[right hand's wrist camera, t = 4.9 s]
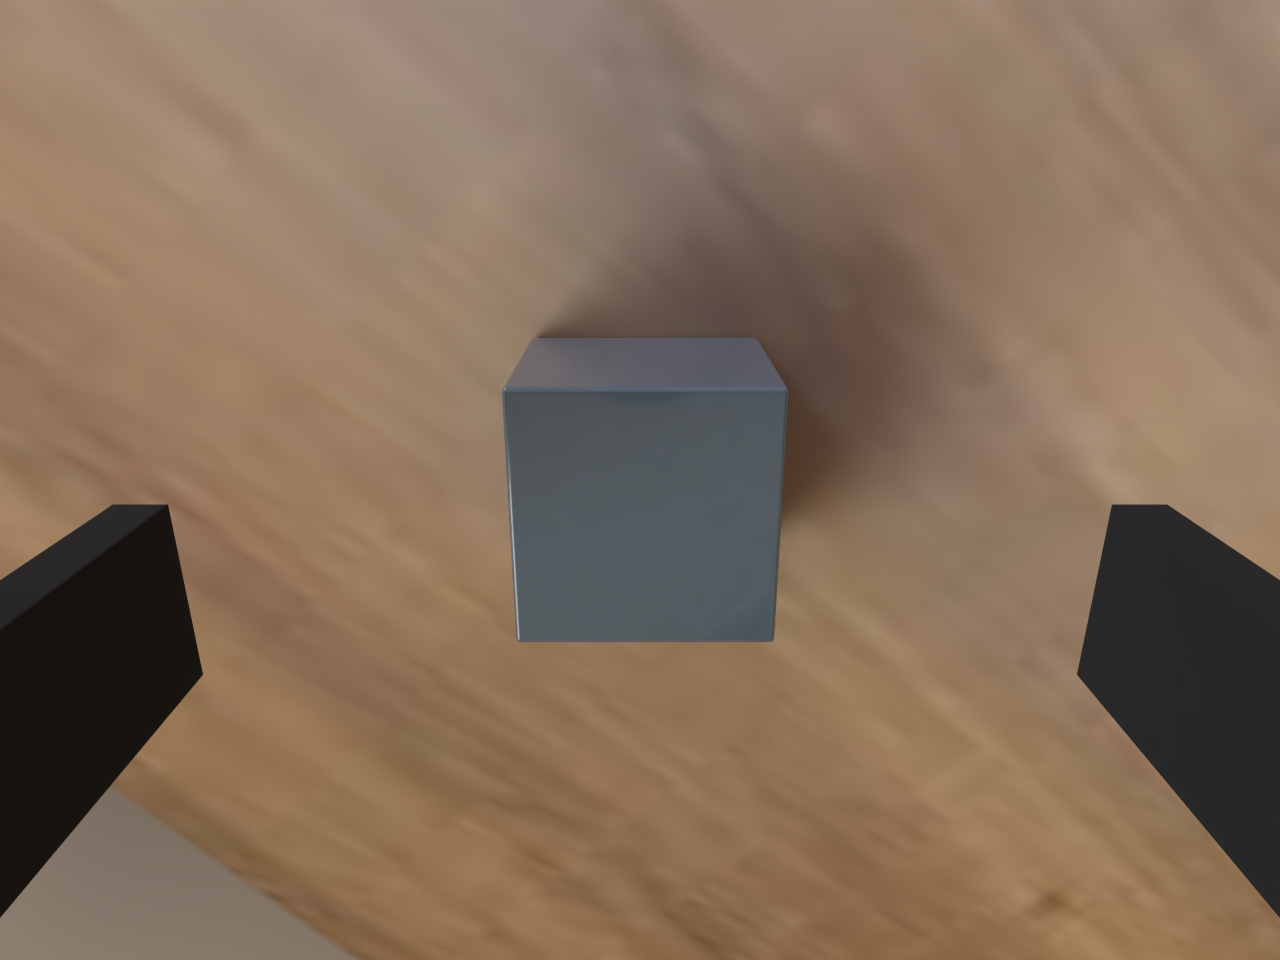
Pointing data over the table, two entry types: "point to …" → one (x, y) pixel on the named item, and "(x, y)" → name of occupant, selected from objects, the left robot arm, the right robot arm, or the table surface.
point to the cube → (645, 489)
